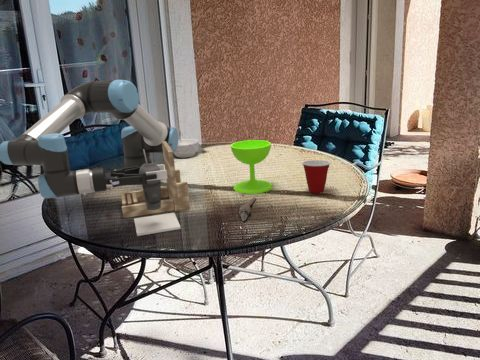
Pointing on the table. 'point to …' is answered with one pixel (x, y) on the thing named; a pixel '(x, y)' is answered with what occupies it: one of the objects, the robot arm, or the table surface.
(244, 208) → the natural artifact
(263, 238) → the table surface
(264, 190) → the wineglass
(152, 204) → the beverage cup
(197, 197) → the table surface
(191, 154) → the paper bowls
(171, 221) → the white tile
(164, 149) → the pine rack
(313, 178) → the plastic cup
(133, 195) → the plywood offcuts
